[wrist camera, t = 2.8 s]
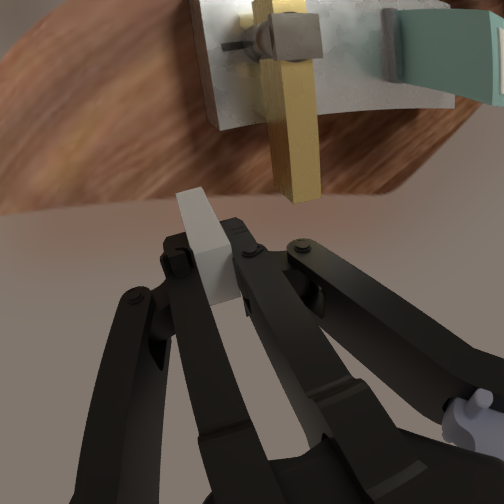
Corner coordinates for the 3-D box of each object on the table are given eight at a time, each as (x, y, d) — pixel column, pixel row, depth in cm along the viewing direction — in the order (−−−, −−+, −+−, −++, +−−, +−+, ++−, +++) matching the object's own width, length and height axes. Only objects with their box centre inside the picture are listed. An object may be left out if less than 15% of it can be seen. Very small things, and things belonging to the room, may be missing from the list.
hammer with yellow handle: (281, 4, 17) (318, -11, 12) (299, 173, 24) (333, 199, 20) (237, 6, 16) (263, -13, 12) (260, 182, 24) (288, 210, 19)
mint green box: (443, 22, 20) (529, 33, 12) (446, 85, 24) (529, 110, 16) (394, 10, 18) (491, 10, 10) (400, 82, 22) (494, 106, 14)
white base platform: (417, 5, 23) (456, 4, 18) (422, 99, 29) (461, 110, 25) (187, -8, 18) (197, -30, 13) (207, 121, 25) (223, 133, 20)
